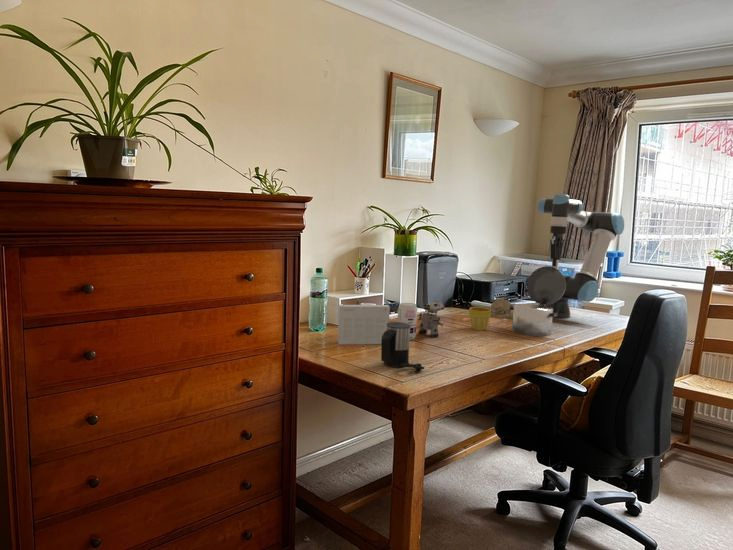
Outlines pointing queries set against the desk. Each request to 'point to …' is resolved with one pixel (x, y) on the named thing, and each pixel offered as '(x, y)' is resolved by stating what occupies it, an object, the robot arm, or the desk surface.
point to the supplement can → (408, 316)
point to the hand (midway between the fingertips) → (554, 272)
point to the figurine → (431, 319)
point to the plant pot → (479, 317)
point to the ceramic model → (501, 309)
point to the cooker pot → (532, 319)
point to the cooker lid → (546, 285)
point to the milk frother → (397, 346)
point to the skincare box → (362, 323)
